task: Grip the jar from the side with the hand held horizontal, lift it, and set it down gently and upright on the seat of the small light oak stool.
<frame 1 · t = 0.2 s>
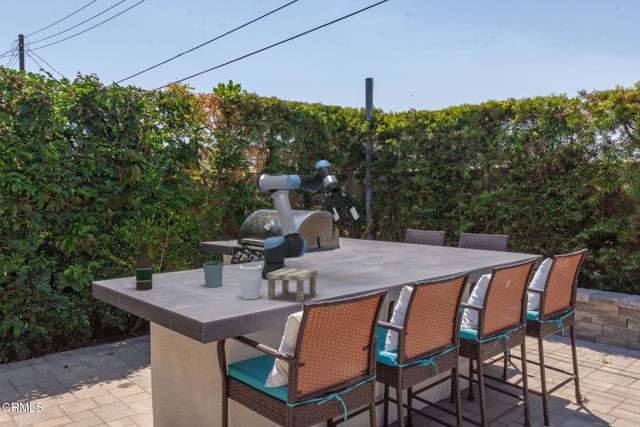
hand: (347, 219, 251), 36 cm above the table, tool tilted 35°, fingers open, 13 cm apart
teal plant pot: (213, 286, 256), on the table
stool: (292, 297, 230), on the table
beer bottle: (144, 289, 248), on the table
jar: (250, 297, 229), on the table
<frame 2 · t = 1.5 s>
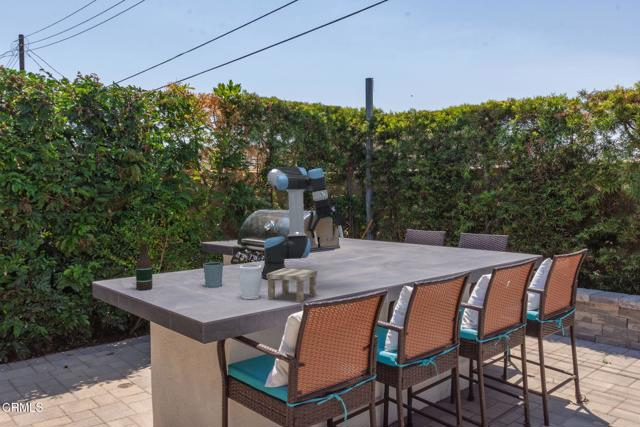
hand: (329, 241, 243), 25 cm above the table, tool pointing down, fingers open, 13 cm apart
nothing on the table moved.
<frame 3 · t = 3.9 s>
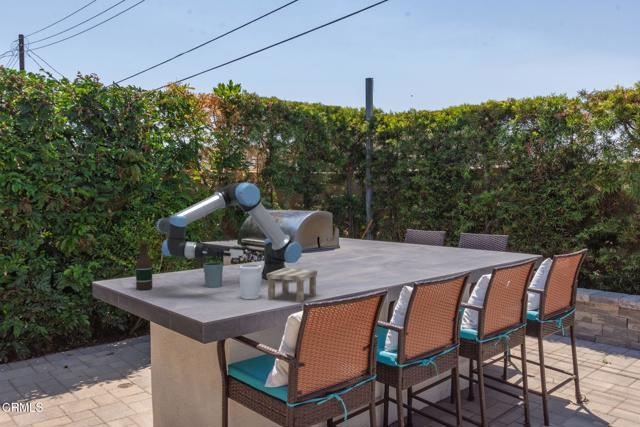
hand: (240, 254, 230), 20 cm above the table, tool horizontal, fingers open, 13 cm apart
nothing on the table moved.
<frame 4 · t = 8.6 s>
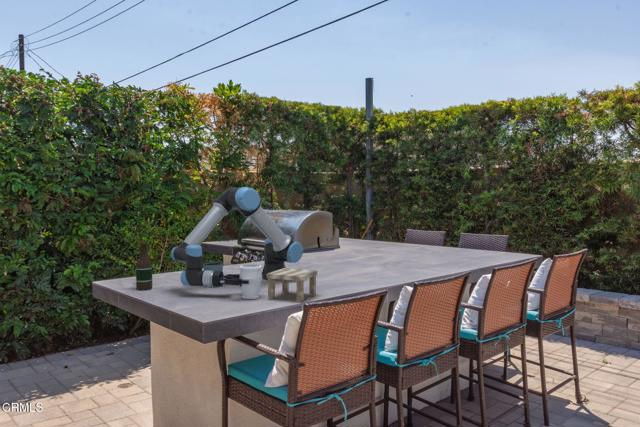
hand: (259, 279, 228), 8 cm above the table, tool horizontal, fingers closed on jar, 10 cm apart
jar: (250, 297, 229), on the table, touching gripper
everything else where it was.
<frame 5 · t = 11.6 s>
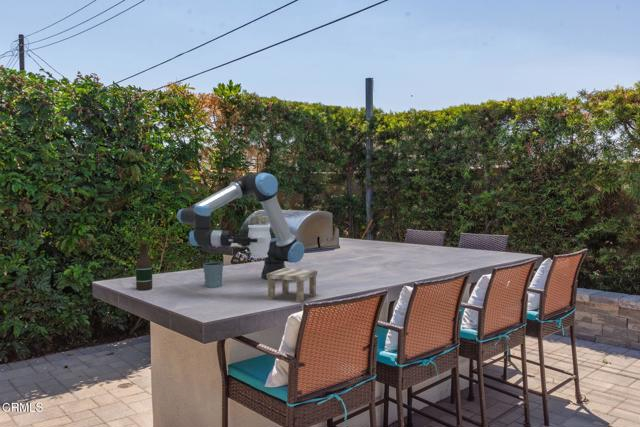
hand: (267, 239, 227), 28 cm above the table, tool horizontal, fingers closed on jar, 10 cm apart
jar: (259, 257, 228), point 19 cm above the table, touching gripper
everything else where it was.
when the fingers open (22 cm above the table, at t = 14.4 s): jar drops 1 cm, resting on stool.
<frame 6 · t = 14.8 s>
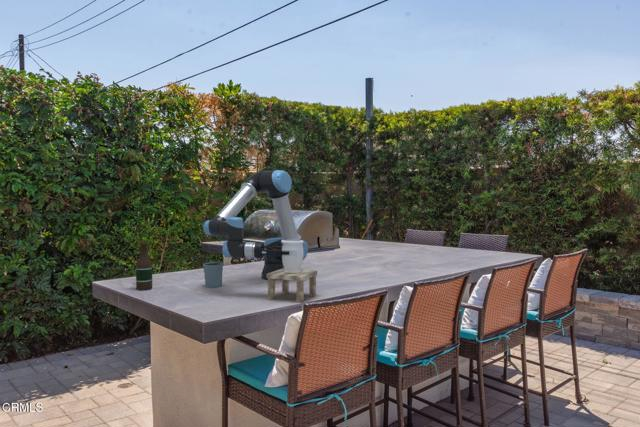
hand: (299, 251, 229), 22 cm above the table, tool horizontal, fingers open, 13 cm apart
jar: (292, 272, 230), point 12 cm above the table, touching stool
everything else where it was.
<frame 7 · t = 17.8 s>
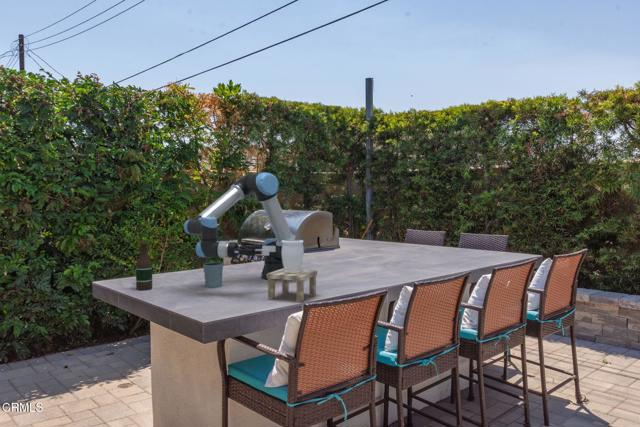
hand: (272, 250, 230), 22 cm above the table, tool horizontal, fingers open, 13 cm apart
nothing on the table moved.
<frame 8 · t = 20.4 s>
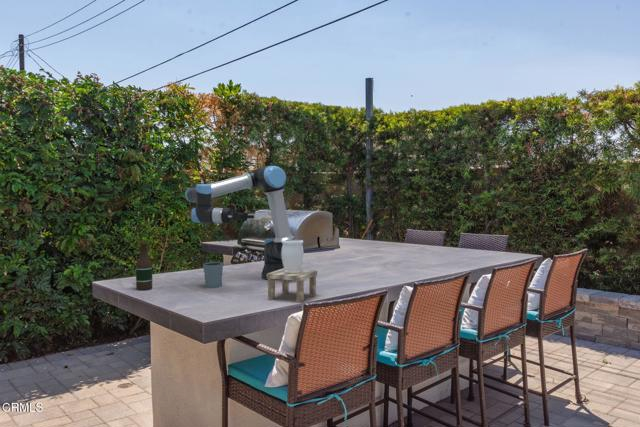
hand: (264, 216, 238), 38 cm above the table, tool horizontal, fingers open, 13 cm apart
nothing on the table moved.
at the end: jar inside the target area on the stool (0.1 cm from its centre), point 11.8 cm above the stool's base; jar tilted 0°; the gripper is holding nothing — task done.
